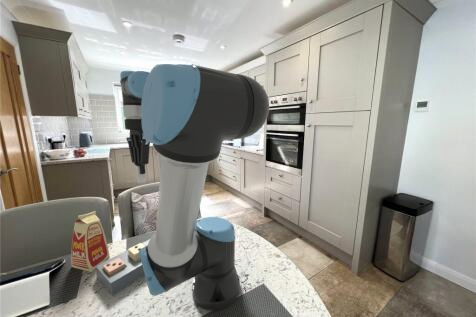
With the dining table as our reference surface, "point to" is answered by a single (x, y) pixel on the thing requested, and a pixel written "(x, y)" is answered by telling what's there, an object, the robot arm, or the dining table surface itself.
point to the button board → (121, 273)
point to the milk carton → (88, 243)
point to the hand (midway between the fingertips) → (141, 181)
